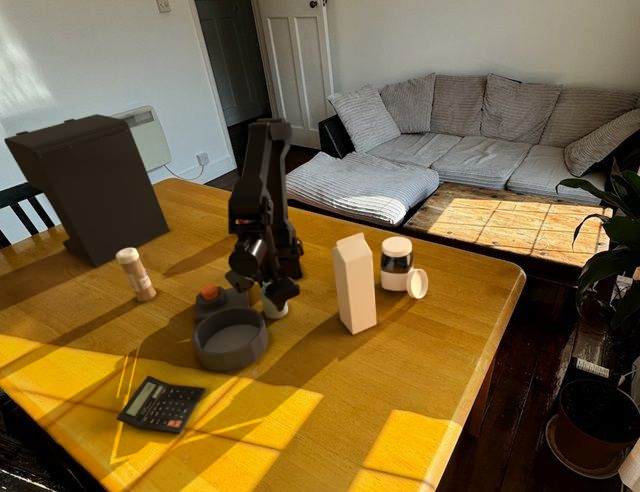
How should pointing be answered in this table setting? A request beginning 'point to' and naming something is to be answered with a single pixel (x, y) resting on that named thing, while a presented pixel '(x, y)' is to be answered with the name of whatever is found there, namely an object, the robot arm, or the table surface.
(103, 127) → the dark brown slanted box
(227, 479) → the table surface
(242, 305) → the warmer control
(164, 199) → the table surface
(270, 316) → the bottle
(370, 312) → the milk
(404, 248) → the spread jar
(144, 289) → the sprinkles bottle
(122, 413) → the calculator
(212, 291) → the stop button
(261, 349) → the bottle warmer
